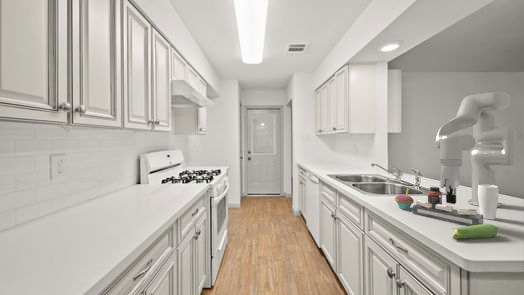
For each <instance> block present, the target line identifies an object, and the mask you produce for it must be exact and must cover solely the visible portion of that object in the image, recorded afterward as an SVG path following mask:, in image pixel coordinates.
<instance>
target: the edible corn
mask: <svg viewBox="0 0 524 295" xmlns="http://www.w3.org/2000/svg"><path fill="white" fill-rule="evenodd" d="M451 230H455V231H454V233H455V234H454V235H453V236H452V239H453V240H459V239H460V240H461V239H466V240H467V239H483V238H484V239H485V238H495V236H497V235H498V233H499V229H498V226H496V225H494V224H492V223H483V224H480V225H474V226H461V227H454V228H453V227H452V228H451Z"/></svg>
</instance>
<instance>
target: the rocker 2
mask: <svg viewBox="0 0 524 295" xmlns="http://www.w3.org/2000/svg"><path fill="white" fill-rule="evenodd" d="M435 208H436V209H441V210H446V211H450V212H451V211H453V209H454V206H449V205H445V204H442V205H441V204H437V205H435Z"/></svg>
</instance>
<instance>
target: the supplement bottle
mask: <svg viewBox="0 0 524 295" xmlns="http://www.w3.org/2000/svg"><path fill="white" fill-rule="evenodd" d="M440 188H441V187H438V186H429V190H428V191H427V203H430V204H432V205H434V206H435V205H437V204H441V205H443V193H442V191H440V190H441V189H440Z"/></svg>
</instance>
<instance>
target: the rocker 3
mask: <svg viewBox="0 0 524 295" xmlns="http://www.w3.org/2000/svg"><path fill="white" fill-rule="evenodd" d="M457 210H458V211H457V212H458V214H466V215H476V214H478V210H477V209H473V208H472V209H470V208H469V209H457Z"/></svg>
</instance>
